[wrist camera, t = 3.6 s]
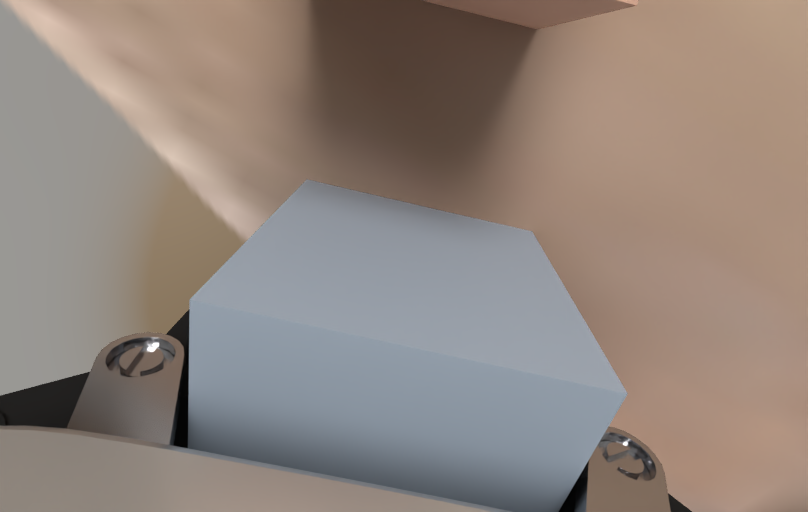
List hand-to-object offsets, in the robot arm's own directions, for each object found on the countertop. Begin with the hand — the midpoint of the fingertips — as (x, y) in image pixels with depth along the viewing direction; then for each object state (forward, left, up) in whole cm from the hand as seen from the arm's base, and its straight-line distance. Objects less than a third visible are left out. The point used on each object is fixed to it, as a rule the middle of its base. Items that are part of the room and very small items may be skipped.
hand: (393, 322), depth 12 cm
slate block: (0, 0, -1) cm, 1 cm away
